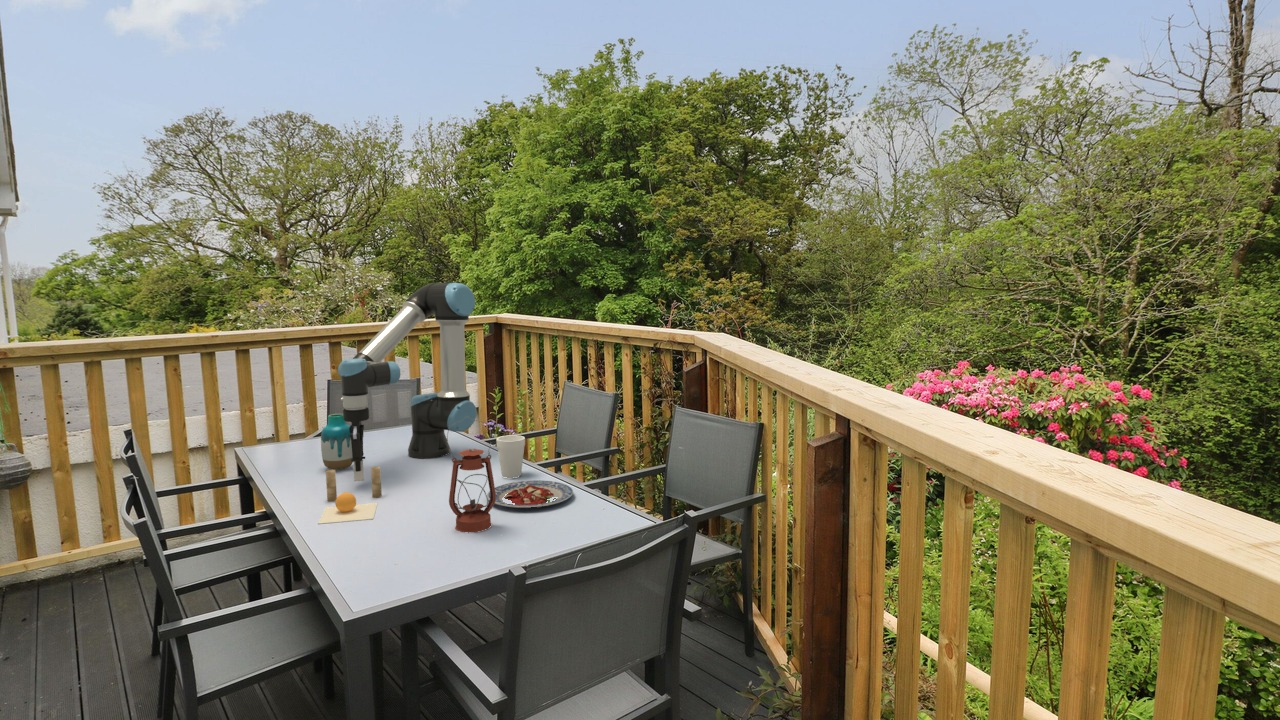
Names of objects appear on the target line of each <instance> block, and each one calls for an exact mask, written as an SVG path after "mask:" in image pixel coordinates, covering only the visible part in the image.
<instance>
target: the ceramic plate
mask: <svg viewBox="0 0 1280 720" xmlns="http://www.w3.org/2000/svg"><path fill="white" fill-rule="evenodd" d="M495 492H496V501H495V503H494V505H498V506H502V507H509V508H518V509H532V508H531V507H537V508H542V506H543V507H545V506H546V507H548V506H552V505H556V504H560V503H562V502H565V501H566V500H568V499H570V498H571V497H572V496H573V494H574V489H573V488H572V487H571V486H569V485H567V484H566V483H562V482H557V481H552V480H543V479H542V480H541V479H540V480H536V479H535V480H531V479H530V480H520V481H514V482H513V481H512V482H508V483H504V484H500V485H498V486H496V487H495ZM507 493H508V494H507ZM505 494H507V495H506V496H505ZM486 495H487V498H488V502H489V501H490V490H489V491H487V493H486ZM504 496H505V497H504ZM503 497H504V498H505V499H508V500H511V501H512V503H515V505H513V504H507V503H505V502H503V500H502V498H503ZM552 497H558V498H557V499H556V498H554V499H556V500H555V501H552V502H550V500H547V499H550V498H552ZM487 498H486V499H487ZM554 499H553V500H554ZM547 501H548V503H546V502H547Z"/></svg>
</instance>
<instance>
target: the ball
mask: <svg viewBox="0 0 1280 720" xmlns="http://www.w3.org/2000/svg"><path fill="white" fill-rule="evenodd" d="M334 503H335V505H334V506H336V508H337V509H338V510H339V511H341V512H349V511H351V510H353V509H354V507H355V506H356V505H357V499H356V496H355V494H353V493H352V492H342V493H340V494H339V495H338V496H337V499H336V501H334Z"/></svg>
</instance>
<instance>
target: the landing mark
mask: <svg viewBox="0 0 1280 720" xmlns="http://www.w3.org/2000/svg"><path fill="white" fill-rule="evenodd" d="M377 506H378V502H372V503H362V504H356V506H355V507H354V509H353V510H351V511H349V512H341V511H339V510H338V509H337V508H336V505H334V506H326V507H325V508H324V510H323V513H322V514H321V516H320V519H319V520H318V523H317V525H323V524H336V523H347V522H355V521H356V522H358V521H368V520H369V521H370V520H374V518H375V514H376V510H377Z"/></svg>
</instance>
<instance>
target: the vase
mask: <svg viewBox="0 0 1280 720" xmlns="http://www.w3.org/2000/svg"><path fill="white" fill-rule="evenodd" d="M349 427H350V425H349V424H347V422H346V421H344V419H343V413H332V414H329V415H327V424H326V426H325V427H323V428H322V429H321V434H320V435H321V436H320V445H321V446H320V448H321V449H320V451H321V458H322V459H321V460H322V463H323V464H324V466H325V467H326V468H327V469H328V470H335V471H338V470H345V469H347V468H349V467H350V466H352V465H353V464H354V463H353V462H351V459H352V458H353V457H352V445H351V436H350V432H349Z"/></svg>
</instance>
